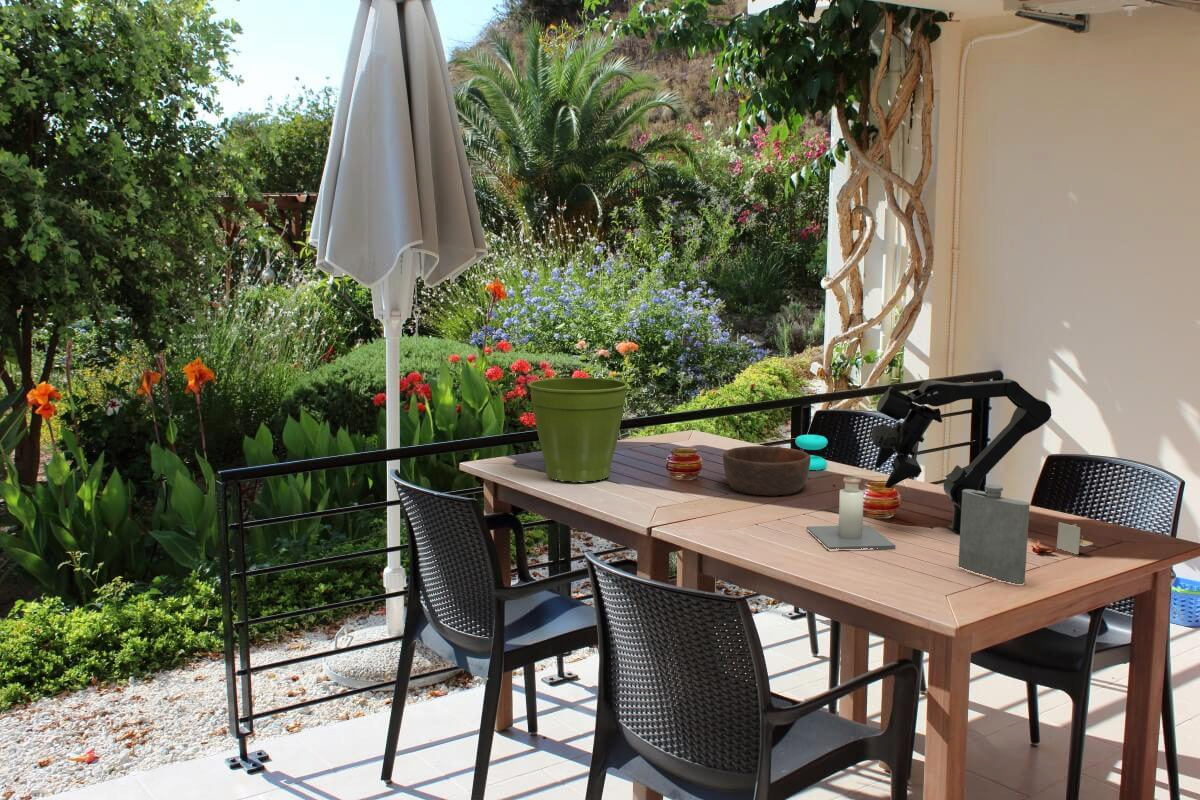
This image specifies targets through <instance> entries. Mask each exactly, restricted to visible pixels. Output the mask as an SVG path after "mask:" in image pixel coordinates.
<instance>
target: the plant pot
mask: <svg viewBox="0 0 1200 800" xmlns="http://www.w3.org/2000/svg"><path fill="white" fill-rule="evenodd" d="M628 386H629V384H628V382H625V381H622V380H618V379H610V378H599V377H558V378H547V379H546V378H545V379H544V378H543V379H539V380H533V381H530V382H528V387H529V388H530V395H531V396H530V397H531V403H532V409H533V415H534V420H535V426H536V431H537V436H538V439H539V440H538V441H539V445H540V449H541V453H542V457H543V460H544V464H545V470H546V471H545V472H546V476H547V478H549V477H550V478H549V479H551V478H553V479H557V480H563V481H574V482H573V483H577V482H579V481H594V482H597V481H596V480H600V481H603V480H606V479H607V478H608V477H609V476H610V474H611V465H612V461H613V458H614V454H615V450H616V448H617V443H618V439H619V434H620V430H621V429H620V428H621V424H622V418H623V412H624V405H625V403H626V393H627V388H628ZM605 478H606V479H605ZM553 479H552V480H553ZM602 479H603V480H602ZM557 480H556V481H557ZM563 481H562V482H563Z"/></svg>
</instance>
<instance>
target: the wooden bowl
mask: <svg viewBox="0 0 1200 800" xmlns="http://www.w3.org/2000/svg"><path fill="white" fill-rule="evenodd" d="M810 455H811V454H809V453H808V452H806V451H803V450H800V449H795V448H789V447H782V446H769V445H767V446H766V445H764V446H763V445H762V446H761V445H759V446H758V445H752V446H741V447H740V446H739V447H734V448H730V449H728V450H725V451H724V452H723V454H722V463H723V469H724V475H725V478H726V481H727V482H728V484H729V486H730V487H731V489H733V490H734V491H735V490H736V491H735V492H738V491H739V492H738V493H741V492H743V493H742V494H745V493H747V494H746V495H750V494H753V495H752V496H759V495H765V496H764V497H779V496H778V495H783V496H789V494H790V495H794V494H797V493H798V492H800V491H801V490H802V489H803V487H804V485H805V484H806V481H807V478H808V474H809V472H810V470H809V467H810V460H811V458H810Z"/></svg>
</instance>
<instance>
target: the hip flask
mask: <svg viewBox="0 0 1200 800" xmlns="http://www.w3.org/2000/svg"><path fill="white" fill-rule="evenodd" d="M1003 489H1004V487H1003V486H1002V485H1000V484H985V485H984V490H985V491H984V490H983V491H982V490H978V491H976V490H971V489H965V490H962V507H961V526H960V534H959V545H958V546H959V547H958V566H959V567H962V568H964V569H967V570H970V571H973V572H975V573H979V574H983V575H986V576H989V577H992V578H996V579H998V580H1001V581H1006V582H1011V583H1015V584H1023V583H1026V582H1025V581H1026V569H1027V568H1026V567H1027V565H1026V564H1027V550H1028V537H1029V535H1028V534H1029V521H1030V520H1029V518H1030V517H1029V516H1030V503H1029V502H1027V501H1024V500H1017V499H1011V498H1008V497H1007V498H1006V497H1003V496H1002V492H1003V491H1004V490H1003Z"/></svg>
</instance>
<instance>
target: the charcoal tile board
mask: <svg viewBox="0 0 1200 800" xmlns="http://www.w3.org/2000/svg"><path fill="white" fill-rule="evenodd" d="M807 530H809V531H810V532H811V533H812V534H813V535H814V536H815V537H816V538H817V539H819V540H820V541H821V542H822V543H823V544H824V545H825V546H826V547H827V548H829V549H836V548H837V549H838V548H839V549H861V548H862V549H863V548H868V549H870V548H873V549H877V548H878V549H895V550H896V547H897V546H896V544H894V543H893V542H892V541H891V540H889V539H888V538H887V537H886V536H884V535H883V534H882V533H880V532H879V531H878V530H876V529H875V528H874V527H872V526H871V525H870V524H863V526H862V537H861V538H858V539H847V538H842V537H840V536H839V535H838V530H839V525H821V526H820V525H818V526H817V525H815V526H814V525H813V526H812V525H811V526H806V531H807Z"/></svg>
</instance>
